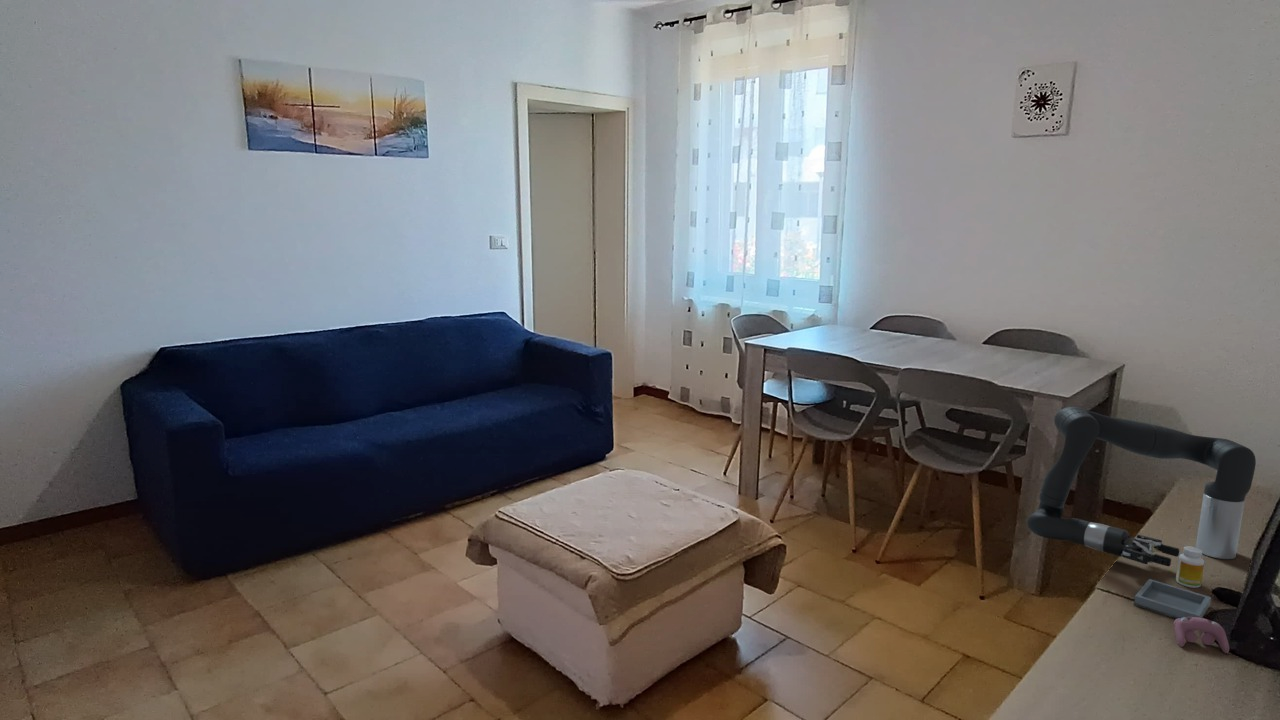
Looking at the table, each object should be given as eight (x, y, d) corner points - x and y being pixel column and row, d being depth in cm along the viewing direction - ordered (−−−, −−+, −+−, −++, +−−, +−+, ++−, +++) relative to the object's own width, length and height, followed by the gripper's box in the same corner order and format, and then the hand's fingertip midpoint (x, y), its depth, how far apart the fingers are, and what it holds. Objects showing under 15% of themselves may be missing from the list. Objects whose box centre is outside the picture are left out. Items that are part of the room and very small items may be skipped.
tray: (1148, 587, 191) (1149, 578, 190) (1209, 606, 181) (1211, 597, 181) (1133, 604, 182) (1135, 595, 182) (1197, 625, 173) (1199, 616, 172)
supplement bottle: (1205, 589, 190) (1210, 554, 188) (1181, 587, 191) (1186, 552, 189) (1194, 579, 195) (1199, 545, 193) (1171, 577, 196) (1176, 544, 194)
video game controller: (1222, 653, 165) (1220, 620, 166) (1232, 654, 160) (1230, 621, 162) (1171, 645, 168) (1170, 613, 169) (1179, 646, 164) (1177, 614, 165)
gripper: (1099, 533, 201) (1169, 552, 189) (1115, 519, 210) (1183, 536, 199) (1096, 558, 202) (1166, 579, 191) (1112, 543, 212) (1179, 562, 200)
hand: (1174, 557), depth 195 cm, fingers open, 8 cm apart
